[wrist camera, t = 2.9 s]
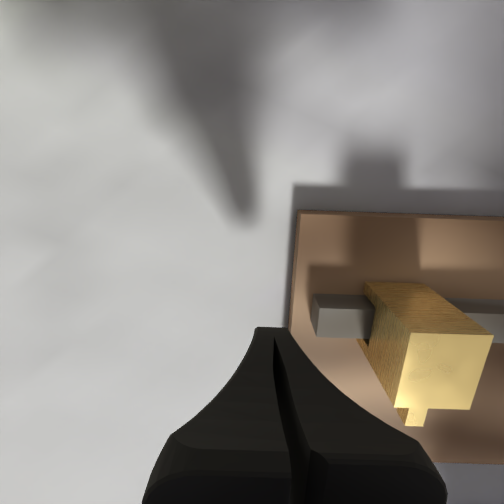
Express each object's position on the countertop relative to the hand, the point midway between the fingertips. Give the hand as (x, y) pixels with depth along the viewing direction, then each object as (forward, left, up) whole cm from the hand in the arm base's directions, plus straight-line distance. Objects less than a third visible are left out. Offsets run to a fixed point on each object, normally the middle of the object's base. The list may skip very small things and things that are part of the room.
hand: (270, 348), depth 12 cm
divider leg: (-1, -6, -3) cm, 7 cm away
